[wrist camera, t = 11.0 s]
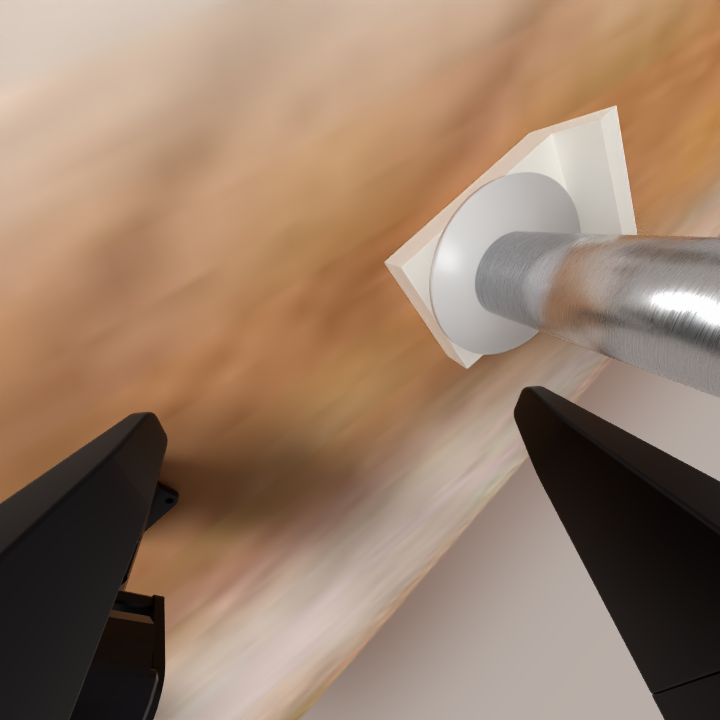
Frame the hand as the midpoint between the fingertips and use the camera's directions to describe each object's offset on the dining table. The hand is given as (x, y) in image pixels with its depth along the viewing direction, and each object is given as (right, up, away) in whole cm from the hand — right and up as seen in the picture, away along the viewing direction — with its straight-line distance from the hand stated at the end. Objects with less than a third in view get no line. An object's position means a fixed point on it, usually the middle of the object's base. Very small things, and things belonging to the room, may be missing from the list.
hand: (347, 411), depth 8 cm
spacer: (+9, +6, +11) cm, 15 cm away
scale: (+8, +8, +14) cm, 18 cm away
